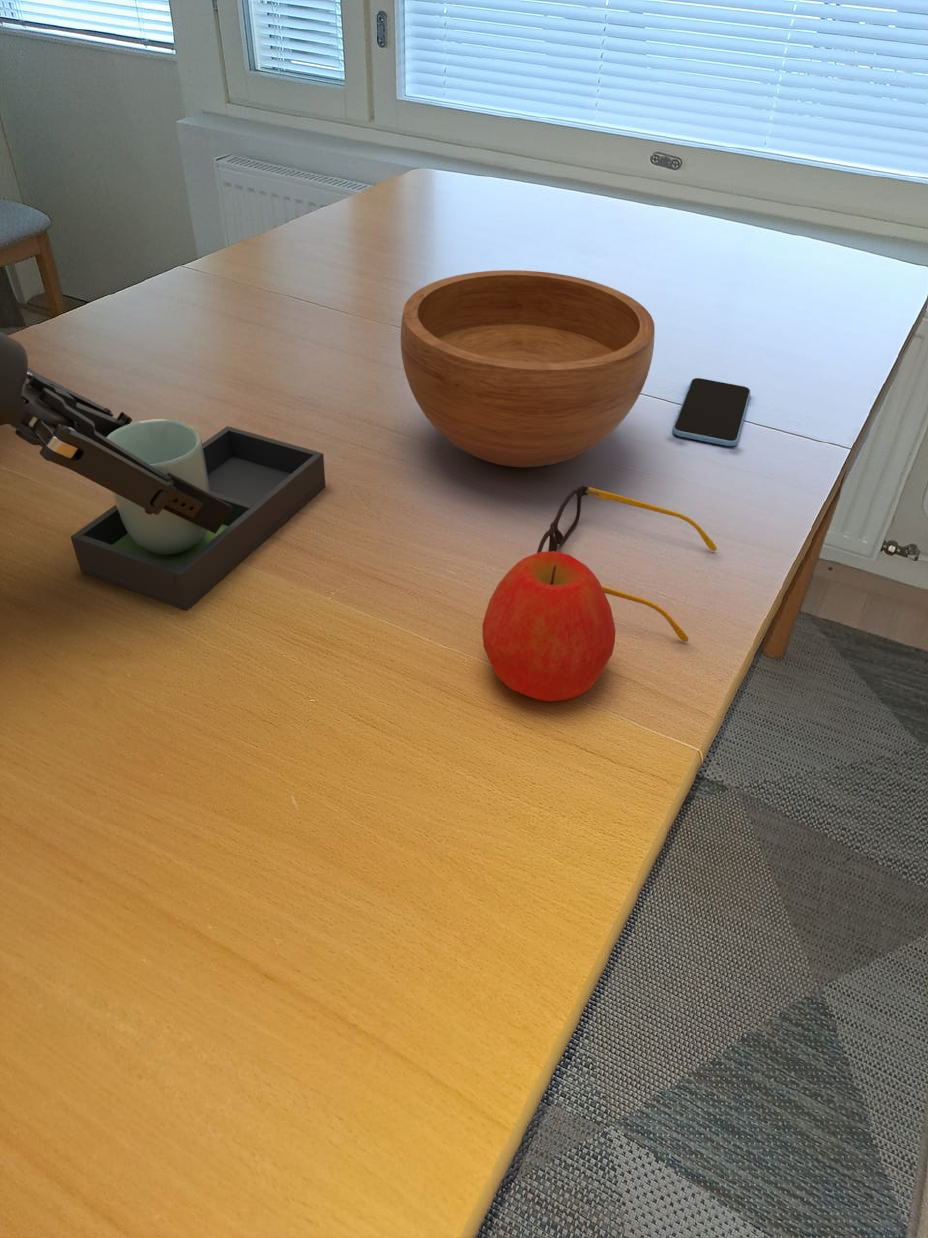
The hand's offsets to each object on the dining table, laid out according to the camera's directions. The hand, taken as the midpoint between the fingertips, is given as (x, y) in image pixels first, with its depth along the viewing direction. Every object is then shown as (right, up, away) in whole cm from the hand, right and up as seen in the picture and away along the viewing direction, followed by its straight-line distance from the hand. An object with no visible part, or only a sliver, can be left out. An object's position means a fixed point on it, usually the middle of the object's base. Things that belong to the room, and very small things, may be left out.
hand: (202, 495), depth 80 cm
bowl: (+29, +7, +19) cm, 35 cm away
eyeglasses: (+37, -7, +2) cm, 38 cm away
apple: (+29, -15, -8) cm, 34 cm away
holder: (-1, -2, +5) cm, 6 cm away
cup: (-3, -4, +1) cm, 5 cm away
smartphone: (+52, +13, +27) cm, 60 cm away
